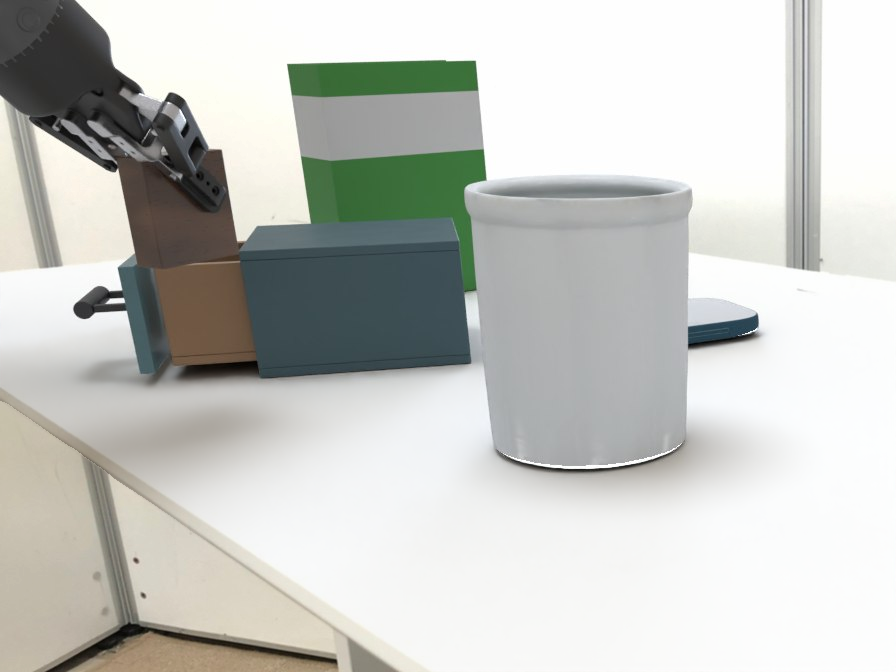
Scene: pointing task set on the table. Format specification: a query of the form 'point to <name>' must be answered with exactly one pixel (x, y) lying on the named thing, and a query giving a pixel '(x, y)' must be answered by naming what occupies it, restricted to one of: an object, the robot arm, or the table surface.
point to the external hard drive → (718, 319)
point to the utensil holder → (583, 314)
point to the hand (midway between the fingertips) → (202, 201)
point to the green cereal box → (390, 142)
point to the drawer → (181, 312)
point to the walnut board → (174, 216)
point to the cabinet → (355, 296)
